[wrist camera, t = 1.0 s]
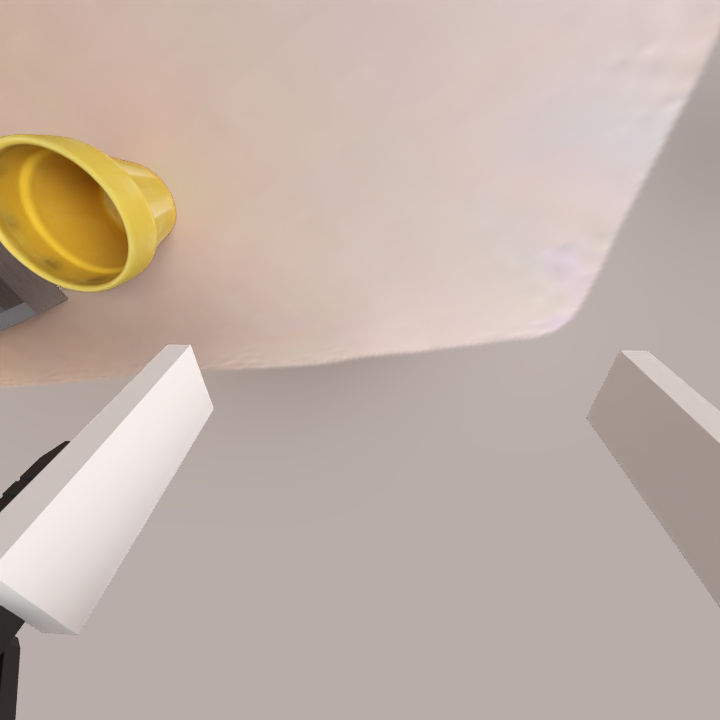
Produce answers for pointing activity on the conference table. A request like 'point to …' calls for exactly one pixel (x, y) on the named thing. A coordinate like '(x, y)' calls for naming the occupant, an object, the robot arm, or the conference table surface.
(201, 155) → the conference table surface
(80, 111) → the conference table surface
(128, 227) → the plant pot
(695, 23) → the conference table surface
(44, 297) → the jig
